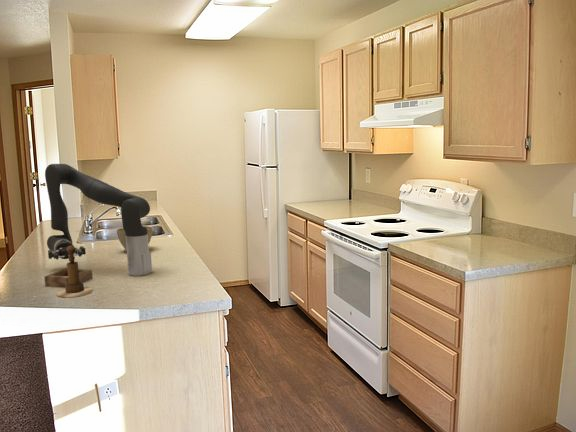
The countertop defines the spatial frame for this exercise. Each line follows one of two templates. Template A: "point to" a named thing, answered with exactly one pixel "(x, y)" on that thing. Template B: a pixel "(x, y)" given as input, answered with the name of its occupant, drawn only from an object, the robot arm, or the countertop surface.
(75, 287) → the mortar and pestle
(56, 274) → the walnut collar
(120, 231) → the flower pot
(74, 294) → the cork trivet
